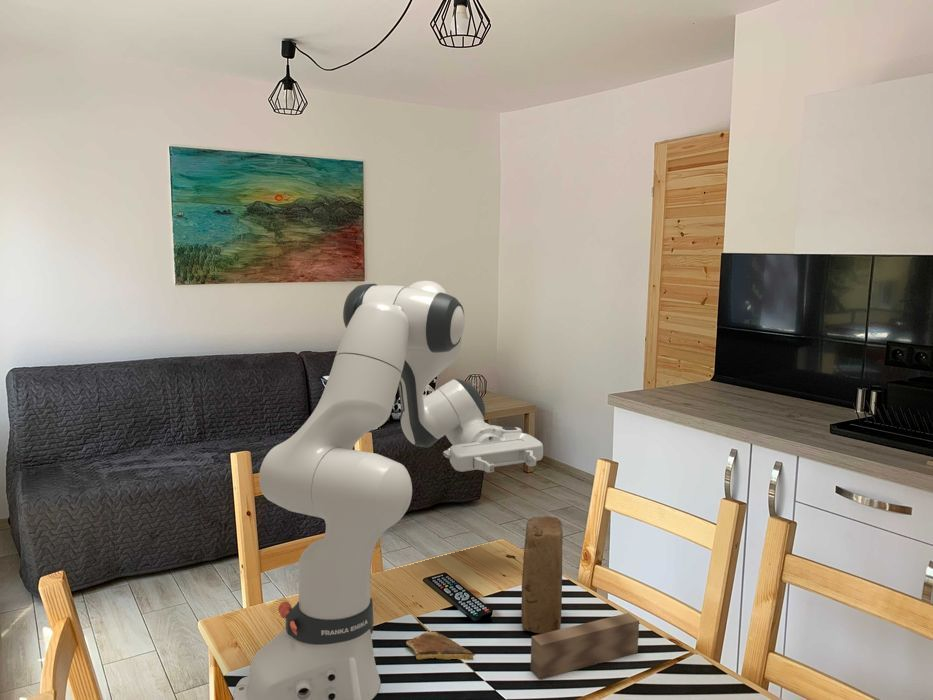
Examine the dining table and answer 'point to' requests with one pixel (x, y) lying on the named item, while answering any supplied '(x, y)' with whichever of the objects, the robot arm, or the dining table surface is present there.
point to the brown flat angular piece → (437, 647)
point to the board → (584, 645)
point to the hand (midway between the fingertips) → (512, 465)
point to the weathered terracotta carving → (542, 575)
